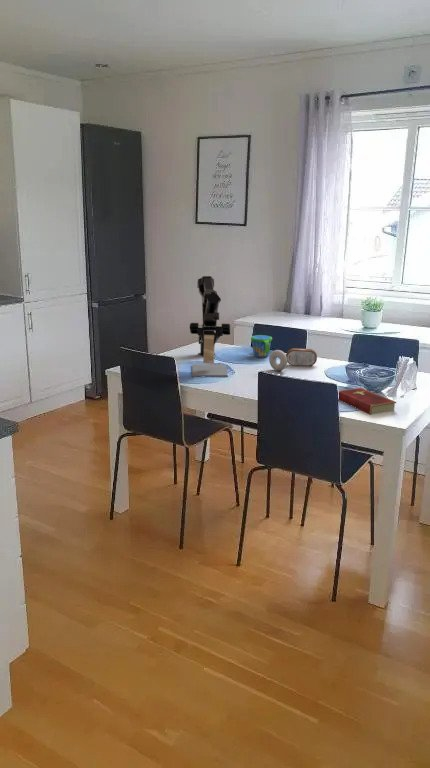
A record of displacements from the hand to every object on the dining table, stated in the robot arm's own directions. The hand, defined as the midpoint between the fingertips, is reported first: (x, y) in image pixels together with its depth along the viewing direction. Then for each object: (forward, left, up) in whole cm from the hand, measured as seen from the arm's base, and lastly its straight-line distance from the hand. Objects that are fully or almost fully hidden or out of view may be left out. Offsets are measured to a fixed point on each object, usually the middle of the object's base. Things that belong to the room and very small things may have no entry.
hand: (208, 344), depth 281 cm
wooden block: (0, 0, -9) cm, 9 cm away
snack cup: (-8, +41, -14) cm, 44 cm away
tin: (+18, +43, -14) cm, 49 cm away
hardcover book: (+76, +17, -14) cm, 79 cm away
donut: (+18, +27, -14) cm, 35 cm away
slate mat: (-1, +1, -13) cm, 13 cm away
